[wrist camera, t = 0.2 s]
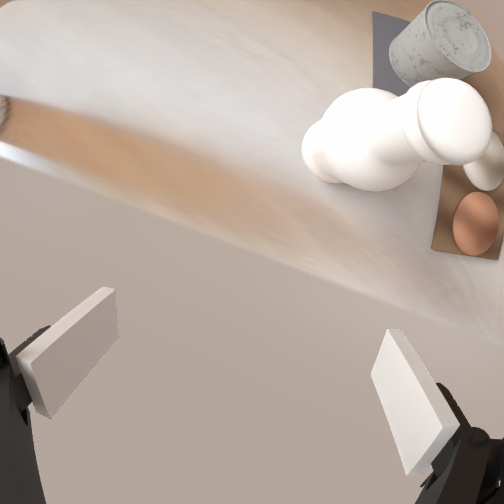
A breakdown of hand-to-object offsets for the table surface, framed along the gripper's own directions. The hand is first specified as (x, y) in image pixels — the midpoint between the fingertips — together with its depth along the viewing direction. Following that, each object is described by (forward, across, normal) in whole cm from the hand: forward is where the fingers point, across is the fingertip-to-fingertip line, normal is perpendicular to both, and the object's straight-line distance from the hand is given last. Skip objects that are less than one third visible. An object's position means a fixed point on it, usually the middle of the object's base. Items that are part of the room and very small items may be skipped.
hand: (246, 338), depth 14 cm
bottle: (+28, +7, +11) cm, 31 cm away
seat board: (+28, +31, +11) cm, 43 cm away
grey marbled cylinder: (+28, +18, +27) cm, 43 cm away
